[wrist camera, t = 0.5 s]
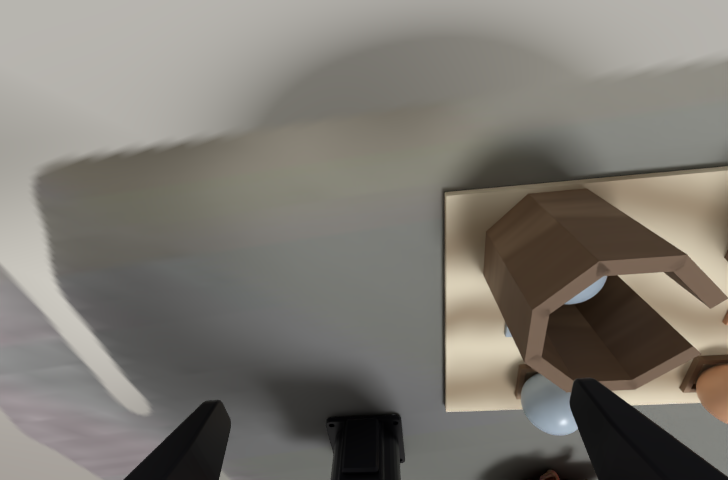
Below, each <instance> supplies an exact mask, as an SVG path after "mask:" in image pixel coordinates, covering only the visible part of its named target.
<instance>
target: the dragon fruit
mask: <svg viewBox="0 0 728 480" xmlns="http://www.w3.org/2000/svg"><path fill="white" fill-rule="evenodd" d="M528 480H531V479H528ZM540 480H559V477H558V475H557V473H556V472H555V471H553V470H547V472H546V473H545V474H543V475H542V476H540ZM585 480H587V479H585Z"/></svg>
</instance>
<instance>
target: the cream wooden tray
mask: <svg viewBox="0 0 728 480" xmlns="http://www.w3.org/2000/svg"><path fill="white" fill-rule="evenodd" d="M603 276H607V279H606V282H605V284H604V286H603V287H602V289H601V290H600V291H599V292H598V293H597V294H596V295H595V296H593V297H592V298H590V299H588V300H586V301H584V302H581V303H577V304H565V303H566V302H568V301H569V300H570V299H572V298H573V297H575V296H576V295H578V294H579V293H580V292H582V291H583V290H585V289H586V288H588V287H589V286H590V285H592V284H593V283H595V282H596V281H597V280H599V279H600V278H602V277H603ZM721 364H728V166H724V167H713V168H702V169H691V170H680V171H670V172H659V173H648V174H637V175H626V176H615V177H604V178H593V179H582V180H572V181H561V182H550V183H539V184H528V185H517V186H506V187H495V188H484V189H473V190H463V191H452V192H445V408H446V412H462V411H489V410H516V409H523V408H522V405H521V391H522V388H523V385H524V384H525V382H526V381H527V380H528V379H529V378H530V377H532V376H533V375H535V374H538V373H540V374H541V375H543V376H544V377H545V378H547V379H548V380H550V381H551V382H552V383H554V384H555V385H557V386H558V387H560V388H561V389H562V390H564V391H565V392H566V393H567V392H571V390H572V386H573V382H574V380H575V379H577V378H594V379H596V380H597V381H599V382H600V383H602V384H603V385H604V386H606V387H607V388H608V389H610V390H611V391H612V392H614V393H615V394H616V395H618V396H619V397H620V398H622V399H623V400H624V401H626V402H627V403H629V404H630V405H652V404H679V403H701V402H700V400H699V398H698V396H697V392H696V382H697V379H698V377H699V375H700V374H701V373H702V372H703V371H704V370H706V369H707V368H709V367H712V366H716V365H721Z"/></svg>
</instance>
